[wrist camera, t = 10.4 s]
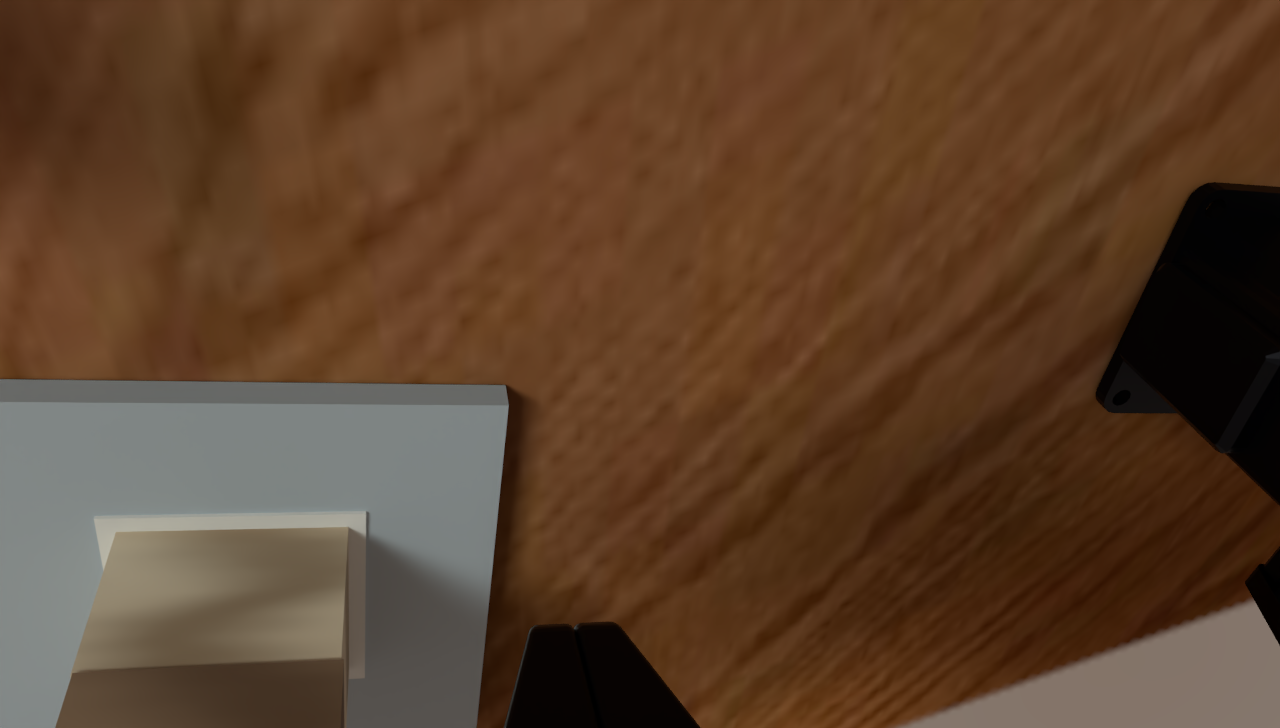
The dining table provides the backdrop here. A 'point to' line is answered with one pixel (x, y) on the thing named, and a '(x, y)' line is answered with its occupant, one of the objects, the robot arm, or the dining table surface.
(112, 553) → the maple block
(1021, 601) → the dining table surface
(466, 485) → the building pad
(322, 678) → the walnut block
